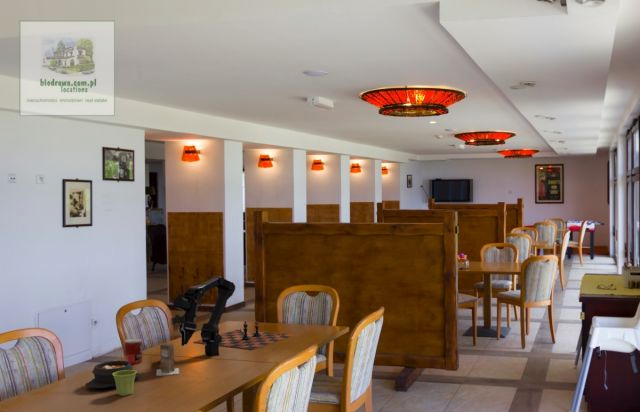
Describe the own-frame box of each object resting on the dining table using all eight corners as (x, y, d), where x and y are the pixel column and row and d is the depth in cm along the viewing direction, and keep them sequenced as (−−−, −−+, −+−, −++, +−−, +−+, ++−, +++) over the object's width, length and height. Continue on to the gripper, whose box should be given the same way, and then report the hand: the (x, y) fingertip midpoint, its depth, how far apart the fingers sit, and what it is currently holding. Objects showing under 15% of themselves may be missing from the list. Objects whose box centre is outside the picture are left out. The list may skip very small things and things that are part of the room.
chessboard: (252, 350, 349) (251, 329, 349) (193, 343, 370) (193, 323, 370) (295, 336, 383) (294, 317, 383) (239, 330, 404) (238, 312, 404)
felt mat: (178, 368, 316) (178, 367, 316) (179, 374, 306) (179, 373, 306) (156, 370, 313) (156, 369, 313) (156, 376, 304) (156, 375, 304)
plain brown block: (166, 370, 312) (165, 343, 312) (174, 370, 311) (173, 343, 310) (161, 372, 309) (160, 345, 308) (169, 373, 307) (168, 345, 307)
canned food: (138, 364, 325) (137, 341, 325) (122, 364, 327) (121, 341, 326) (145, 360, 333) (144, 338, 332) (130, 360, 334) (129, 338, 334)
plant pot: (116, 391, 282) (115, 370, 282) (139, 389, 283) (138, 369, 283) (111, 397, 273) (110, 376, 272) (134, 396, 273) (134, 375, 273)
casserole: (106, 394, 278) (106, 374, 277) (75, 389, 287) (74, 369, 286) (149, 379, 299) (149, 360, 299) (119, 374, 308) (118, 356, 308)
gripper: (171, 311, 334) (164, 343, 329) (176, 307, 317) (169, 340, 312) (193, 316, 337) (187, 347, 332) (199, 311, 320) (193, 344, 315)
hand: (183, 345), depth 323 cm, fingers open, 9 cm apart
